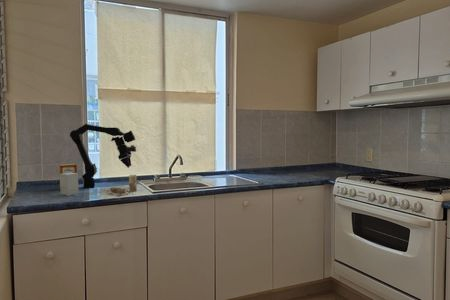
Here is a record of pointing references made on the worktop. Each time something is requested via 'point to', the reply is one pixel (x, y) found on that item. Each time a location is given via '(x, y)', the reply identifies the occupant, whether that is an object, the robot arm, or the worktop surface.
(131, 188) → the beech dowel
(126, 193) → the balance ridge
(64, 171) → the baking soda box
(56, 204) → the worktop surface
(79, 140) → the robot arm
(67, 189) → the supplement box
